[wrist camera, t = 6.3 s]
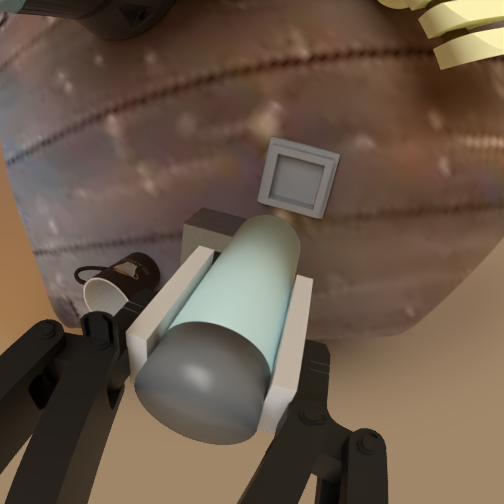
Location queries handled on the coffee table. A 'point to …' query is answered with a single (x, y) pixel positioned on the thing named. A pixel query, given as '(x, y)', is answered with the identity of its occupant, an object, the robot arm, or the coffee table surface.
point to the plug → (225, 339)
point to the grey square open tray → (297, 177)
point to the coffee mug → (118, 282)
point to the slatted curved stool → (459, 28)
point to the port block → (208, 231)
